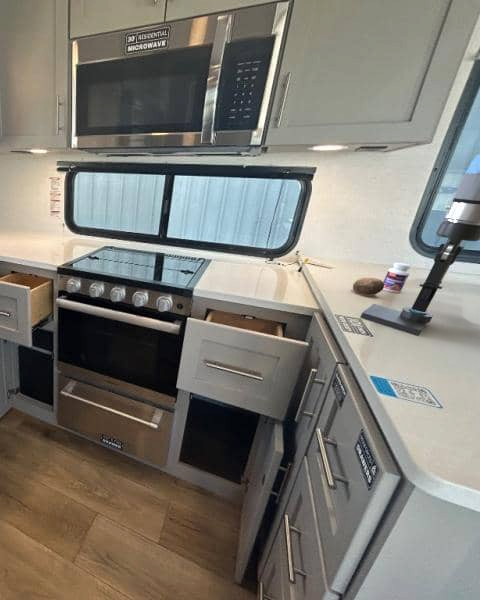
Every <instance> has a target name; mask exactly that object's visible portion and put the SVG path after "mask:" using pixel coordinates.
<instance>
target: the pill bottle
mask: <svg viewBox="0 0 480 600" xmlns="http://www.w3.org/2000/svg"><path fill="white" fill-rule="evenodd" d="M410 267H411V265H410V264H408V263H404V262H398V261H396V262H394V263H393V267H391V268H389V269H388V270H387V272H386V275H385V277H384V280H382V281H383V283H384V288H383V290H382V291H385V292H389V293H394V294H399V293H401V291H402V290H403V288H404V286H405V284H406V282H407V280H408V278H409V276H410V272H409V271H408V270H409V269H410Z"/></svg>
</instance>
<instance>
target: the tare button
mask: <svg viewBox="0 0 480 600" xmlns="http://www.w3.org/2000/svg"><path fill="white" fill-rule="evenodd" d="M410 311H411V312H413V313H417V314H421V315H425V314H426V313H424V312H420V311H417V310H413V309H411V310H410Z"/></svg>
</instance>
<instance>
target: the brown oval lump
mask: <svg viewBox="0 0 480 600" xmlns="http://www.w3.org/2000/svg"><path fill="white" fill-rule="evenodd" d="M383 281H384V280H382V279H379V278H375V277H363V278H359V279H357V280H355V282H354V283H352V290H353V291H354V293H355V294H358V295H360V296H363V297H371V296H375V295H377V294H379V293H381V292H382V291H384V290H383V288H384V283H383Z"/></svg>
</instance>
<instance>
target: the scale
mask: <svg viewBox="0 0 480 600" xmlns="http://www.w3.org/2000/svg"><path fill="white" fill-rule="evenodd" d="M411 308H412V307H403V308H402V310H401V311H400V310H397V309H393V308H390V307H387V306H383V305H380V304H377V303H372V305H370V306H369V307H368V308H366V309H365V310H364V311H362V313H361V314H360V319H363V320H366V321H368V322H373V323H375V324H377V325H378V324H379V325H382V326H385V327H388V328H392V329H394V330H398V331H401V332H404V333H407V334H410V335H413V336H416V337H418V336H419V335H420V334H421V332H422V331H423V330H424V328H426V325H427V324H429V323H430V322H431V321H432V319H433V317H434V315H433V314H432V313H430V312H429V311H426V312H425V313H426V314H425V315H421V314H417V313H413V312H411V311H410V310H411Z"/></svg>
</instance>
